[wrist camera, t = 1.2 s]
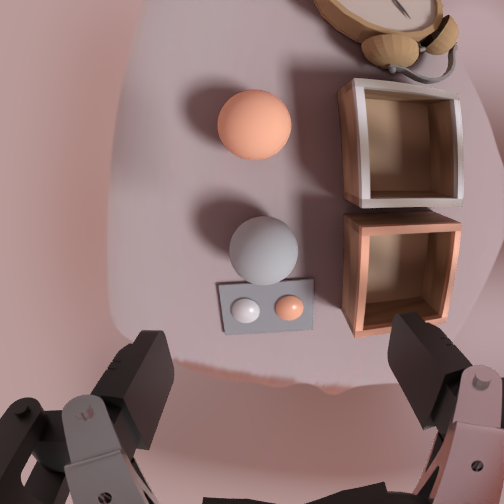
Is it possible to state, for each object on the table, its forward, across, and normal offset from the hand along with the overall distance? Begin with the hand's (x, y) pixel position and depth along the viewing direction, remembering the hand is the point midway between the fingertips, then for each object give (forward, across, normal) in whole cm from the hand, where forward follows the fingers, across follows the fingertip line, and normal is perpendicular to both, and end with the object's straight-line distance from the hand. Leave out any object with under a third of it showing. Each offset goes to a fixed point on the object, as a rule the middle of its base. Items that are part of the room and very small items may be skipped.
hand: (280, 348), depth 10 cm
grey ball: (+13, 0, 0) cm, 13 cm away
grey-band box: (+15, -11, -7) cm, 20 cm away
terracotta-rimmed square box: (+15, -10, +3) cm, 19 cm away
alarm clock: (+15, -12, -20) cm, 27 cm away
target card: (+15, 0, +6) cm, 16 cm away
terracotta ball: (+12, 0, -9) cm, 15 cm away
